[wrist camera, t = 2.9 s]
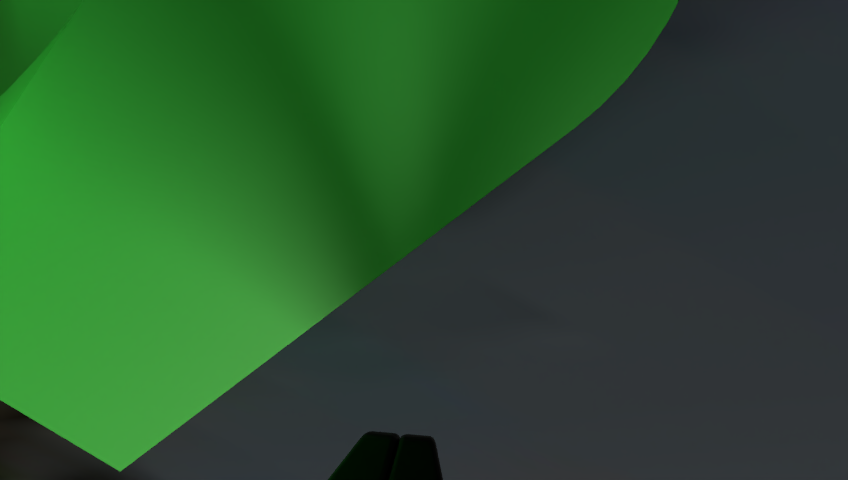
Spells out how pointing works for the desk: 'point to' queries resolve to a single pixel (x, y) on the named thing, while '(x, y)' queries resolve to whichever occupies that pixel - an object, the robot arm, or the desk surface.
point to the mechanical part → (251, 175)
